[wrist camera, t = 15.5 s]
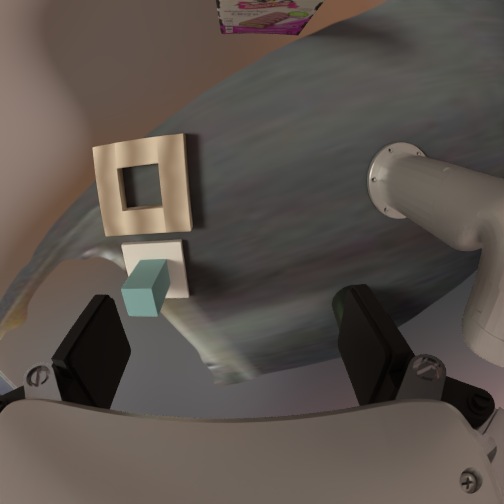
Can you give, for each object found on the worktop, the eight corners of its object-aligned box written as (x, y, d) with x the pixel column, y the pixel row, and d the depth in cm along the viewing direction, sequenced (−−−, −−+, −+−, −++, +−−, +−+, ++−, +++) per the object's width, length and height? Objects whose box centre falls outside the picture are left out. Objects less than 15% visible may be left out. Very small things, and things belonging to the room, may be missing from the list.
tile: (181, 239, 43) (180, 241, 43) (189, 294, 48) (188, 297, 47) (123, 242, 43) (121, 245, 42) (135, 295, 47) (133, 298, 46)
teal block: (166, 258, 44) (151, 288, 35) (170, 283, 45) (157, 316, 37) (140, 259, 43) (120, 288, 35) (145, 284, 45) (128, 315, 37)
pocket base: (185, 133, 37) (182, 133, 35) (192, 226, 43) (190, 231, 41) (98, 146, 37) (92, 147, 35) (110, 231, 42) (105, 236, 40)
